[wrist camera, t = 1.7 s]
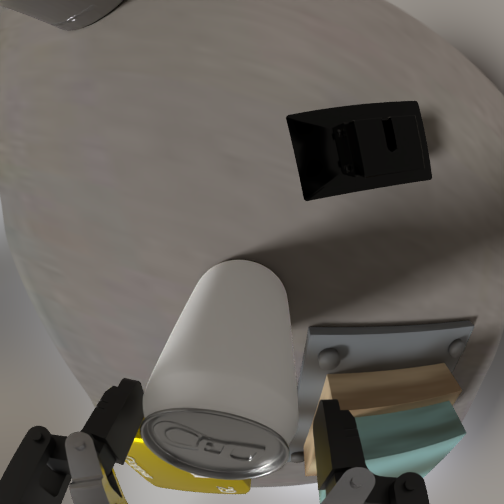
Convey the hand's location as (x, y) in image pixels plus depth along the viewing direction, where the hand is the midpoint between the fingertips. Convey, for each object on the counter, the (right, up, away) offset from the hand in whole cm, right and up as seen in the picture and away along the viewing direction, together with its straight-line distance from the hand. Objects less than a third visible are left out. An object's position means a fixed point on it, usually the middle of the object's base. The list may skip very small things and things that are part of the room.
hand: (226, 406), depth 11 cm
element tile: (-7, -18, +17) cm, 26 cm away
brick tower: (+13, -9, +12) cm, 20 cm away
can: (0, +3, +9) cm, 10 cm away
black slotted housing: (+8, +13, +5) cm, 17 cm away
